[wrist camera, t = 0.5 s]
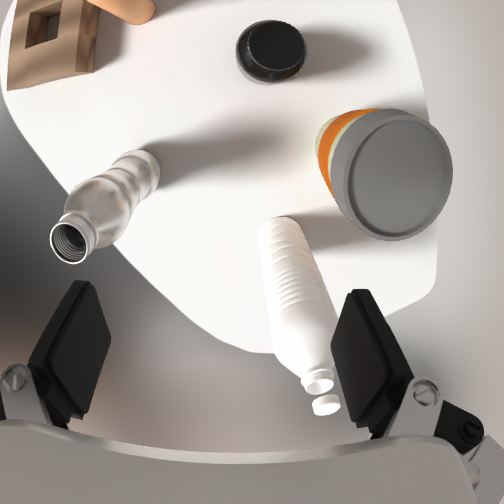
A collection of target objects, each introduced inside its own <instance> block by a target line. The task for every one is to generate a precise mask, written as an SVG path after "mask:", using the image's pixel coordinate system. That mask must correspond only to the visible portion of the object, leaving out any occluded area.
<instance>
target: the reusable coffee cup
mask: <svg viewBox="0 0 504 504" xmlns="http://www.w3.org/2000/svg"><path fill="white" fill-rule="evenodd" d="M315 149H316V155H317V158H318V162H319V168H320V170H321V173H322V176H323V178H324V180H325V182H326V184H327V186H328V188H329V190H330V192H331V194H332V195H333V197H334V198H335V201H336V203H337V204H338V206H339V208H340V210H341V211H342V212H343V213H344V214H345V216H346V217H347V218H348V219H349V220H350V221H352V222H353V223H354V224H355V225H356V226H357V227H359V228H360V229H361V230H362V231H364V232H365V233H366V234H368V235H370V236H372V237H374V238H376V239H380V240H385V241H398V240H403V239H407V238H410V237H412V236H414V235H417V234H418V233H420V232H421V231H423V230H424V229H426V228H427V227H428V226H429V225H430V224H431V223H432V222H433V221H434V220H435V219H436V218H437V216H438V215H439V214H440V212H441V211H442V209H443V207H444V205H445V203H446V201H447V199H448V196H449V193H450V189H451V185H452V175H453V167H452V160H451V155H450V152H449V149H448V146H447V144H446V142H445V140H444V138H443V137H442V136H441V134H440V133H439V132H438V131H437V129H436V128H434V127H433V126H432V125H431V124H429V123H428V122H426V121H424V120H422V119H420V118H418V117H416V116H414V115H411V114H409V113H407V112H404V111H401V110H396V109H364V110H355V111H350V112H347V113H344V114H342V115H340V116H337V117H334V118H332V119H330V120H329V121H328V122H326V123H325V124H324V125H323V127H322V128H321V129H320V131H319V133H318V135H317V139H316V148H315Z"/></svg>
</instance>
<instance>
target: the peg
mask: <svg viewBox="0 0 504 504" xmlns="http://www.w3.org/2000/svg"><path fill="white" fill-rule="evenodd" d="M87 1H88V2H90V3H92V4H94V5H96V6H98V7H100V8H102V9H104V10H106V11H108V12H110V13H112V14H114V15H116V16H117V17H119V18H121V19H123V20H125V21H126V22H128V23H130V24H132V25H141V24H144V23H146V22H148V21H149V20H150V19H151V18H152V17H153V15H154V13H155V9H156V8H155V4H154V3H153V2H152V1H151V0H87Z"/></svg>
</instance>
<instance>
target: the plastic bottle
mask: <svg viewBox="0 0 504 504" xmlns="http://www.w3.org/2000/svg"><path fill="white" fill-rule="evenodd" d="M159 178H160V167H159V164H158V162H157V160H156V158H155V157H154V156H153V155H152V154H150V153H148V152H147V151H143V150H133V151H128V152H125V153H124V154H122V155H121V156H120V157H119V158H117V160H116V161H115V162H114V163H113V165H112V166H111V167H110V168H109V169H108V170H107V171H106V172H104V173H102V174H100V175H98V176H96V177H93V178H90V179H87V180H85V181H83V182H81V183H80V184H78V185H77V186H76V187H75V188H74V189H73V190H72V192H71V193H70V195H69V197H68V199H67V201H66V204H65V208H64V216H63V217H62V218H61V219H60V220H59V222H58V223H57V224H56V225H55V226H54V227H53V229H52V231H51V234H50V243H51V247H52V249H53V251H54V252H55V254H56V255H57V256H58V257H59V258H60V259H61V260H62V261H64V262H66V263H69V264H78V263H80V262H82V261H83V260H85V258H86V257H87V256H88V254H90V253H91V252H92V251H93V250H94V248H102V247H106V246H108V245H110V244H112V243H113V242H115V241H116V240H118V239H119V238H120V237H121V235H122V234H123V233H124V231H125V229H126V227H127V225H128V222H129V220H130V217H131V215H132V212H133V210H134V209H135V207H136V206H137V204H138V203H139V202H141V201H142V200H144V199H145V198H147V197H148V196H149V195H151V194H152V193H153V192H154V190H155V189H156V187H157V185H158V182H159Z"/></svg>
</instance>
